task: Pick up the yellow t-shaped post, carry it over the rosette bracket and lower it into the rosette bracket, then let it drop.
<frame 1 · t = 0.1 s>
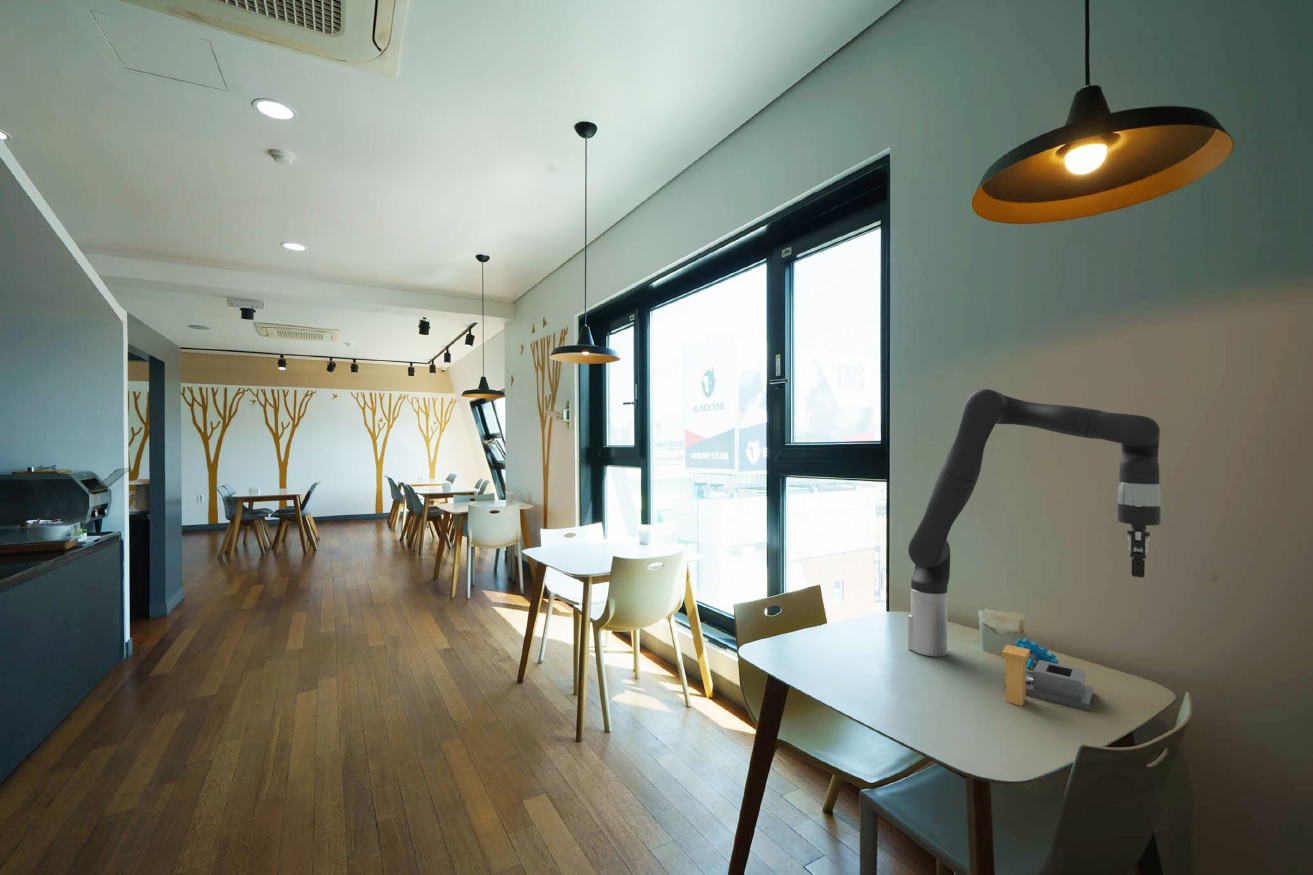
hand: (1138, 573, 130), 29 cm above the table, fingers open, 8 cm apart
blue jagged figurine: (1034, 666, 150), on the table
rosette bracket: (1048, 691, 134), on the table
yellow t-shaped post: (1015, 700, 129), on the table
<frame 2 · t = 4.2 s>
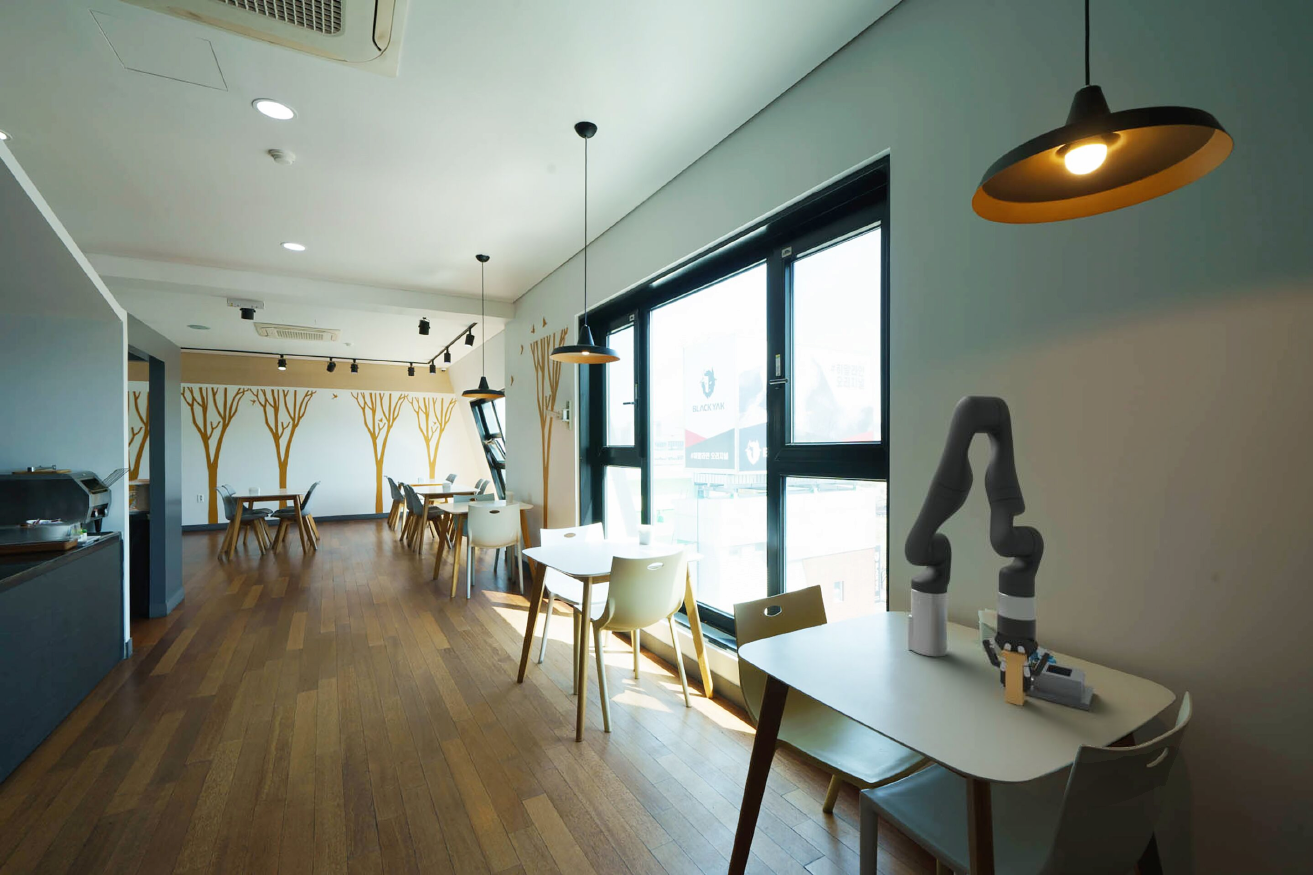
hand: (1015, 688, 129), 3 cm above the table, fingers closed on yellow t-shaped post, 3 cm apart
yellow t-shaped post: (1015, 700, 129), on the table, touching gripper
everything else where it was.
when the fingers open (6 cm above the table, at t = 9.0 s): yellow t-shaped post stays where it is, resting on rosette bracket.
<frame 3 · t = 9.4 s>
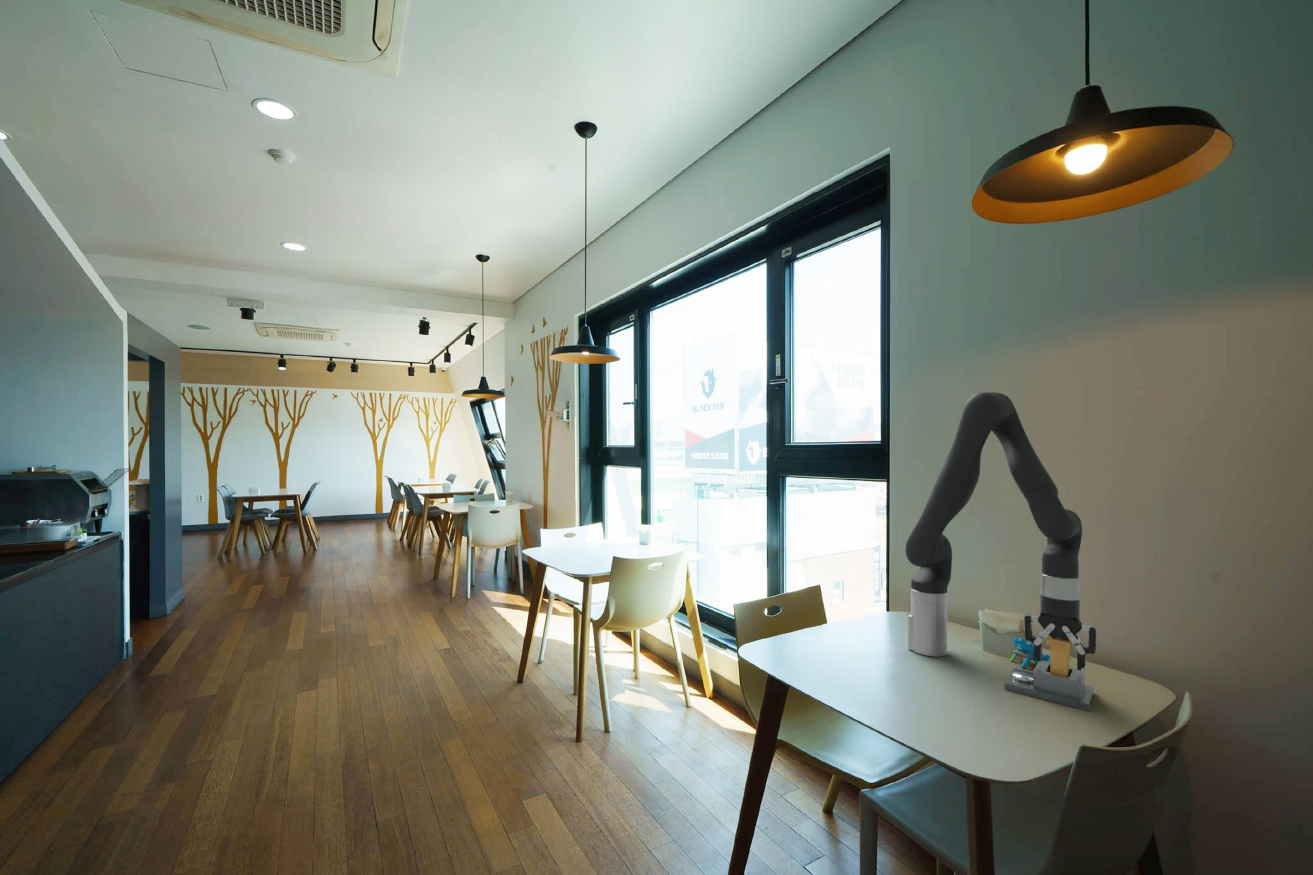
hand: (1059, 664, 133), 7 cm above the table, fingers open, 7 cm apart
yellow t-shaped post: (1059, 686, 133), point 2 cm above the table, touching rosette bracket
everything else where it was.
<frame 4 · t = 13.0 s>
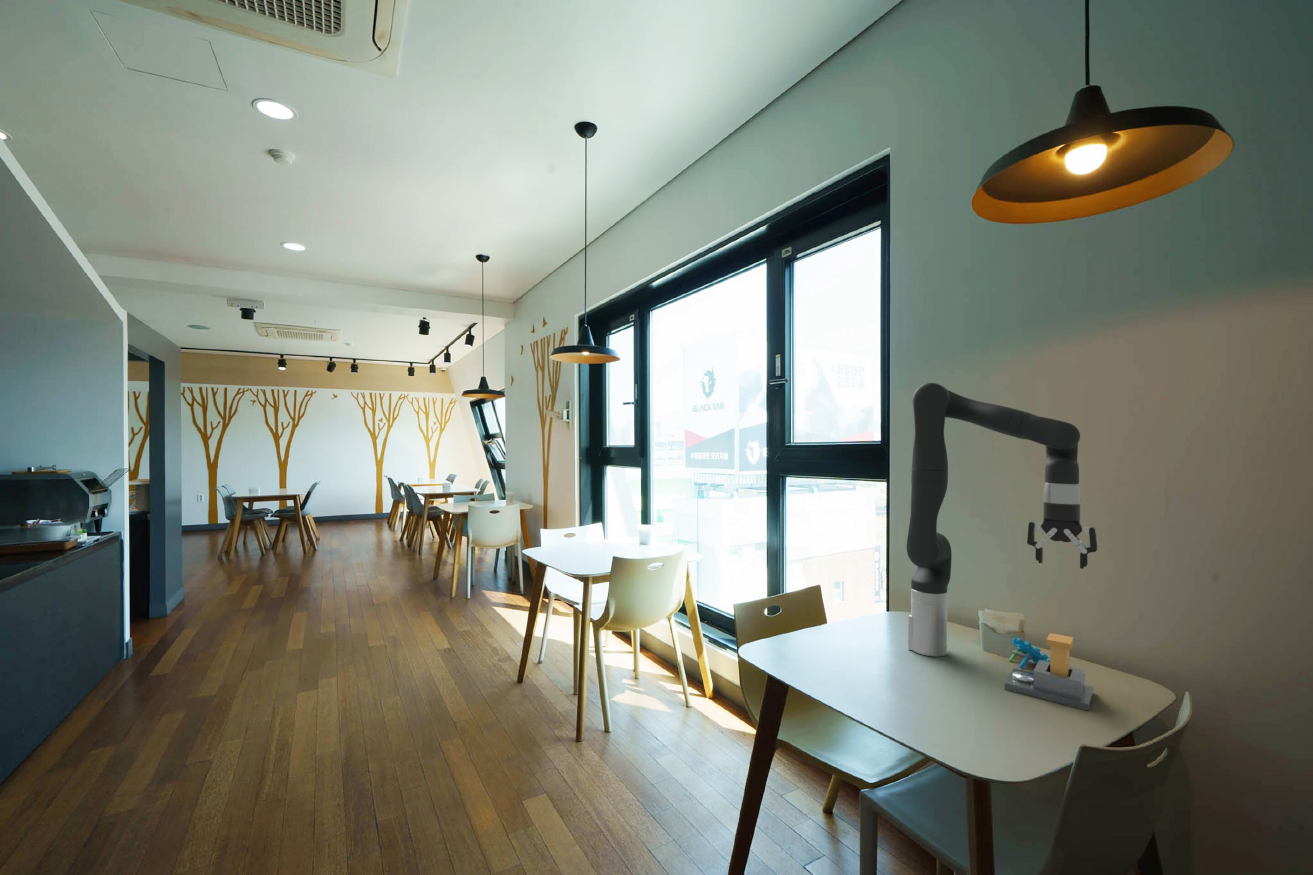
hand: (1061, 565, 143), 28 cm above the table, fingers open, 8 cm apart
at the end: yellow t-shaped post 0.5 cm from the target spot on the rosette bracket, point 1.5 cm above the rosette bracket's base; yellow t-shaped post tilted 0°; the gripper is holding nothing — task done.
